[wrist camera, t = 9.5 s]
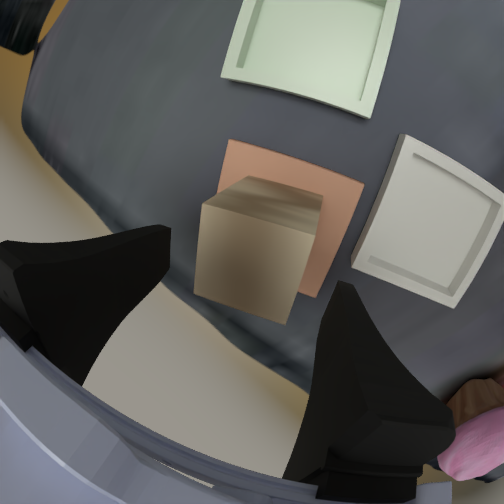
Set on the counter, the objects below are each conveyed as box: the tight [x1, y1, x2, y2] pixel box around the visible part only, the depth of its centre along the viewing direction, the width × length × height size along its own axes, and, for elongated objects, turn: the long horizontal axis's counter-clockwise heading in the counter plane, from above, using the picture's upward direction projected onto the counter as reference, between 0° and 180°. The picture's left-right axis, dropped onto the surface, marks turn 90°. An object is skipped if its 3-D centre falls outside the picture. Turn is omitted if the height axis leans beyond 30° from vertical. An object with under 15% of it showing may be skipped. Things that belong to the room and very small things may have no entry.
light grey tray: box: [351, 134, 504, 309], centre depth 13 cm, size 8×8×2 cm
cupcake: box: [438, 378, 504, 481], centre depth 14 cm, size 9×9×10 cm
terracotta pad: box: [217, 139, 364, 298], centre depth 17 cm, size 8×8×1 cm
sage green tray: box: [221, 0, 401, 119], centre depth 11 cm, size 8×8×2 cm
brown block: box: [194, 175, 323, 325], centre depth 14 cm, size 4×4×6 cm
